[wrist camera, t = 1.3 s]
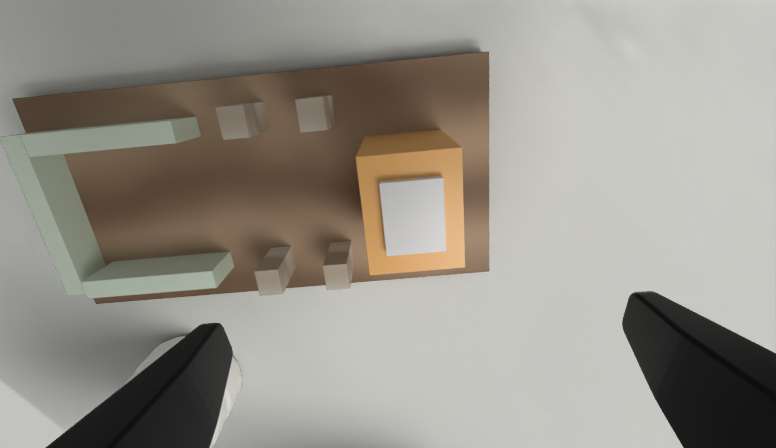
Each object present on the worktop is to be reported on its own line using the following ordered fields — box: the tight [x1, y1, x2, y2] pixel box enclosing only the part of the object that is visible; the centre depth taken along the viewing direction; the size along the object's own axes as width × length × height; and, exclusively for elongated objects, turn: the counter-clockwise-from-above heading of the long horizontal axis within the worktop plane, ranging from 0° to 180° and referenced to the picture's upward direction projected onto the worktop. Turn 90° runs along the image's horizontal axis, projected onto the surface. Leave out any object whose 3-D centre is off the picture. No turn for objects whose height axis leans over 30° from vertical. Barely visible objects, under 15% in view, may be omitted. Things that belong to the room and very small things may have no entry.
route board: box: [13, 52, 489, 304], centre depth 20 cm, size 12×24×4 cm, turn 95°
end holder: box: [0, 117, 234, 299], centre depth 20 cm, size 9×8×2 cm
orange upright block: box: [356, 130, 465, 275], centre depth 18 cm, size 5×4×6 cm
